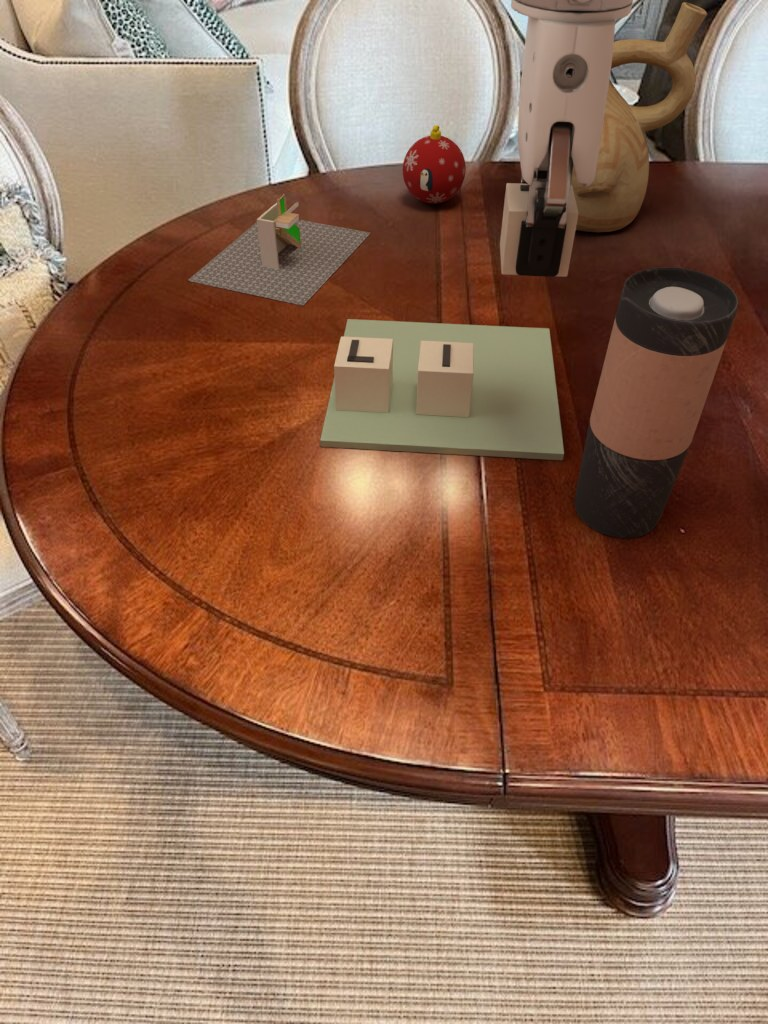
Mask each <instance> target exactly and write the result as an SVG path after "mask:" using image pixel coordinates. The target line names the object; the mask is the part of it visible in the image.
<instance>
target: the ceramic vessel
mask: <svg viewBox="0 0 768 1024" xmlns="http://www.w3.org/2000/svg"><path fill="white" fill-rule="evenodd" d="M707 16H708V12H707V11H706V10H705V9H704V8H702V7H700V6H698V5H696V4H692V3H689V2H685V1H684V2H682V3H681V6H680V8H679V11H678V13H677V16H676V18H675V21H674V23H673V25H672V27H671V29H670V31H669V32H668V33H669V34H668V35H667V37H666V38H665V40H664V41H657V40H653V39H652V40H651V39H642V38H630V39H619V40H616V41H615V40H614V45H613V55H612V64H611V70H612V69H614V68H617V67H620V66H623V65H627V64H628V65H630V64H646V65H649V66H654V67H657V68H660V69H662V70H664V71H665V72H666V73H668V75H669V76H670V78H671V81H672V86H671V89H670V91H669V92H668V94H667V96H666V97H665V98H664V99H662V100H661V101H659V102H657V103H654V104H652V105H648V106H636V105H631V104H629V103H628V102H627V100H626V99H625V98H624V97H623V95H622V94H621V93H620V92H619V90H618V89H617V88H616V87H615V85H614V83H613V82H612V81H611V79H610V80H609V87H608V94H607V101H606V108H605V114H604V121H603V127H602V134H601V140H600V147H599V154H598V160H597V167H596V174H595V179H594V181H593V183H592V184H591V185H590V186H588V187H583V185H582V184H578V183H577V179H576V175H575V170H574V166H573V171H572V179H571V185H572V187H573V192H574V196H575V200H576V205H577V209H578V213H579V214H578V219H577V225H576V231H579V232H588V233H610V232H616V231H619V230H622V229H623V228H625V227H627V226H628V225H630V224H631V223H632V222H633V221H634V220H635V218H636V217H637V216H638V214H639V212H640V210H641V207H642V205H643V203H644V199H645V197H646V193H647V187H648V183H649V175H650V174H649V173H650V154H649V146H648V141H647V137H646V132H650V131H653V130H657V129H660V128H662V127H664V126H666V125H668V124H671V122H673V121H675V120H676V119H677V118H678V117H679V116H680V115H681V114H682V113H683V111H685V109H686V108H687V106H688V105H689V103H690V102H691V100H692V98H693V95H694V91H695V87H696V71H695V66H694V64H693V62H692V61H691V59H690V57H689V55H688V53H687V51H688V49H689V47H690V46H691V43H692V41H693V39H694V37H695V35H696V33H697V32H698V30H699V29H700V27H701V25H702V23H703V22H704V20H705V19H706V17H707Z"/></svg>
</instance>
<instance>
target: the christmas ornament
mask: <svg viewBox="0 0 768 1024" xmlns="http://www.w3.org/2000/svg"><path fill="white" fill-rule="evenodd" d="M466 166H467V165H466V160H465V156H464V153H463V152H462V149H461V148H460V147H459V145H458V144H457V143H456V142H454V141H453V140H452V139H450V138H449V137H447V136H443V135H442V131H441V130H440V126H439V124H438V125H437V124H436V125H434V126H433V127H432V129H431V131H430V134H429V135H425V136H423V137H421V138H419V139H418V140H417V141H415V142H414V143H413V144H412V145H411V146H410V147H409V149H408V150H407V152H406V153H405V156H404V158H403V163H402V176H403V177H402V178H403V181H404V185H405V186H406V188H407V190H408V191H409V193H410V194H411V195H412V196H413V198H415V199H416V200H418V201H420V202H422V203H425V204H430V205H436V204H442V203H445V202H447V201H449V200H451V199H452V198H453V197H454V196H455V195H457V193H458V192H459V191H460V189H461V188H462V186H463V183H464V181H465V178H466V172H467V171H466V170H467V167H466Z"/></svg>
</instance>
